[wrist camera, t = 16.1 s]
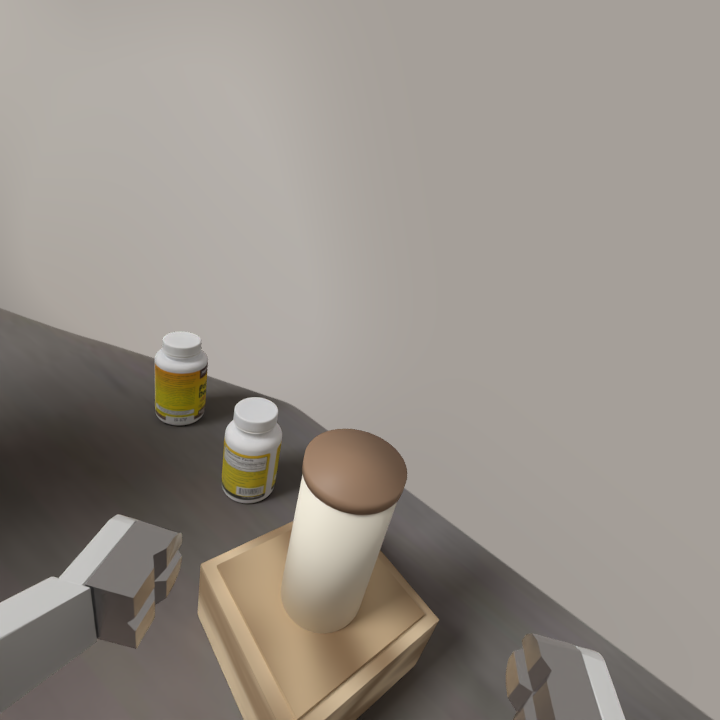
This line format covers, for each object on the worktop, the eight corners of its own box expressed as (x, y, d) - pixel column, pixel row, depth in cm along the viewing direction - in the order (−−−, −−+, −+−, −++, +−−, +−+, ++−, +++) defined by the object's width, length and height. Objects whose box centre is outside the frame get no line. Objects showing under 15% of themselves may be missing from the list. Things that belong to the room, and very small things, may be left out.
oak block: (276, 793, 24) (291, 746, 21) (197, 614, 32) (200, 561, 29) (415, 664, 32) (440, 617, 29) (325, 545, 39) (338, 497, 36)
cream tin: (309, 655, 25) (347, 521, 20) (263, 577, 29) (284, 445, 23) (379, 603, 29) (428, 478, 23) (331, 540, 32) (362, 419, 27)
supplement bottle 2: (250, 459, 47) (259, 386, 42) (285, 486, 44) (298, 412, 40) (209, 483, 42) (214, 405, 38) (245, 514, 40) (255, 435, 36)
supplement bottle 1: (204, 427, 49) (208, 352, 45) (152, 428, 48) (151, 350, 43) (205, 399, 54) (209, 329, 49) (157, 399, 52) (157, 326, 47)
